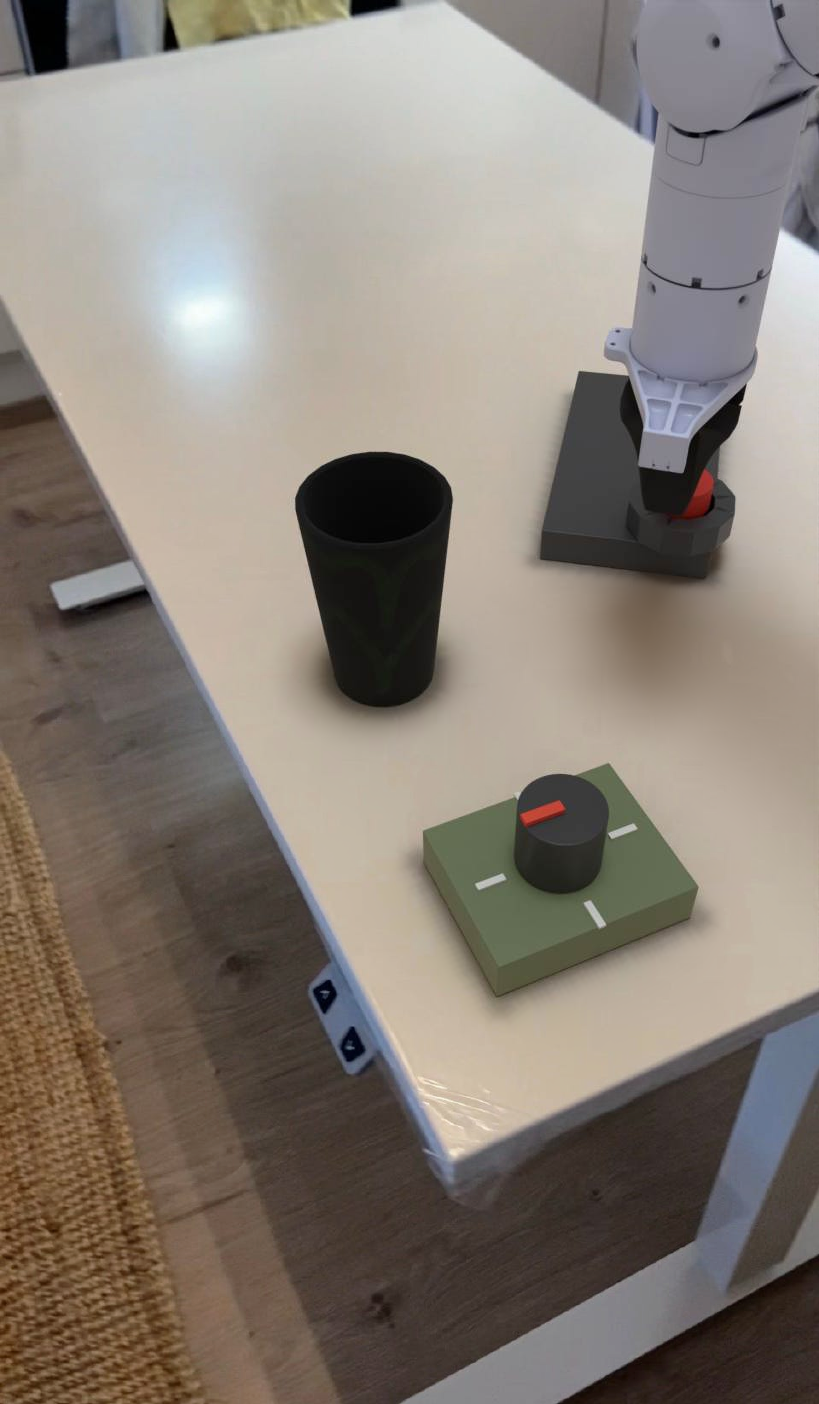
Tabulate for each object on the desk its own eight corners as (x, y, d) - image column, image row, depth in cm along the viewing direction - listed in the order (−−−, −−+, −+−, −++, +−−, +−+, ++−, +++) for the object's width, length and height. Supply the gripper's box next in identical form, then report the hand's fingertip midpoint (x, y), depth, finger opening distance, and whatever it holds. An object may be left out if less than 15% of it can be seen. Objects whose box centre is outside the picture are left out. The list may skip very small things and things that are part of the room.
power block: (576, 397, 85) (580, 347, 82) (733, 413, 83) (743, 362, 80) (537, 567, 72) (541, 515, 69) (721, 590, 70) (733, 537, 67)
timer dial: (575, 811, 56) (582, 757, 53) (618, 875, 54) (627, 822, 51) (499, 839, 55) (501, 785, 52) (538, 906, 53) (543, 853, 50)
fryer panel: (603, 792, 60) (608, 758, 58) (692, 919, 55) (701, 886, 53) (422, 860, 58) (421, 826, 56) (497, 999, 52) (499, 967, 50)
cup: (396, 742, 63) (387, 568, 54) (287, 681, 66) (261, 508, 57) (479, 659, 67) (483, 484, 58) (373, 605, 70) (361, 432, 61)
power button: (656, 485, 72) (659, 460, 70) (710, 490, 71) (715, 466, 70) (651, 517, 69) (655, 493, 68) (707, 523, 69) (712, 499, 68)
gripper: (645, 180, 58) (616, 418, 68) (582, 327, 49) (559, 578, 59) (793, 196, 57) (741, 437, 67) (757, 352, 47) (703, 606, 57)
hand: (665, 505), depth 63 cm, fingers closed
